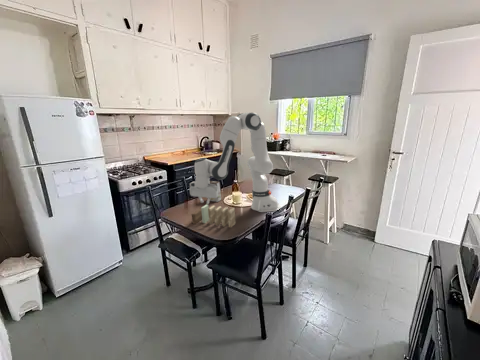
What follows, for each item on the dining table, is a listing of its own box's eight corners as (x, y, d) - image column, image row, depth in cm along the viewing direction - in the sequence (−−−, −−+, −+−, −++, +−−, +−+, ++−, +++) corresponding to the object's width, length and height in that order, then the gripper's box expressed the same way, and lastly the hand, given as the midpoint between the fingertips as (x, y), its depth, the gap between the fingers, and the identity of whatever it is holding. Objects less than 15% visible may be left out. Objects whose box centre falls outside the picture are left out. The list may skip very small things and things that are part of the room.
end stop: (205, 216, 165) (204, 207, 163) (196, 224, 155) (195, 214, 153) (201, 216, 166) (201, 207, 165) (192, 223, 156) (191, 213, 154)
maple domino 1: (216, 220, 159) (215, 205, 156) (211, 224, 153) (210, 209, 150) (213, 220, 159) (212, 205, 156) (209, 224, 154) (208, 208, 151)
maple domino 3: (228, 222, 155) (227, 207, 152) (224, 226, 150) (223, 210, 147) (226, 222, 156) (225, 206, 153) (222, 226, 150) (221, 210, 148)
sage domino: (209, 219, 161) (208, 204, 158) (205, 223, 155) (203, 208, 152) (207, 219, 161) (205, 204, 158) (202, 222, 156) (201, 207, 153)
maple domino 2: (222, 221, 157) (221, 206, 154) (218, 225, 152) (217, 209, 149) (219, 221, 158) (218, 206, 155) (215, 225, 152) (214, 209, 149)
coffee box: (221, 199, 199) (220, 181, 195) (218, 202, 193) (217, 183, 189) (212, 198, 202) (210, 180, 198) (208, 201, 196) (207, 182, 192)
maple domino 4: (235, 223, 153) (234, 208, 150) (231, 227, 148) (230, 211, 145) (232, 223, 154) (231, 207, 151) (228, 227, 149) (227, 211, 146)
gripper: (219, 182, 150) (221, 202, 154) (192, 180, 158) (195, 199, 162) (214, 185, 144) (216, 206, 148) (187, 183, 152) (189, 203, 156)
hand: (205, 202), depth 155 cm, fingers open, 3 cm apart
